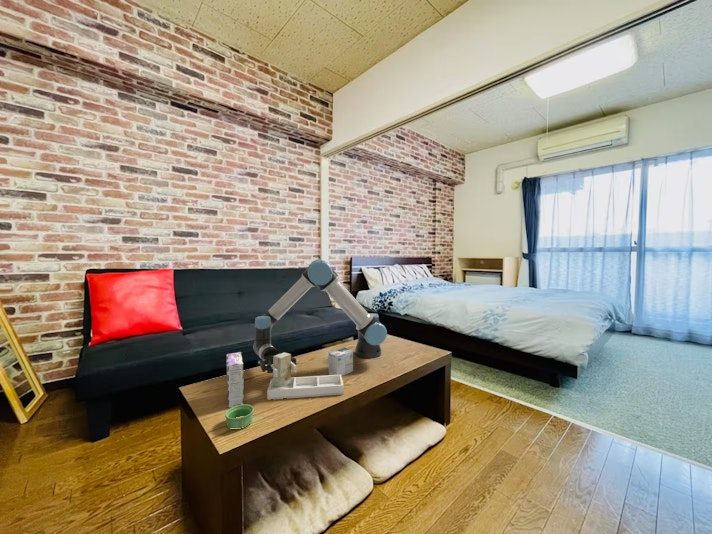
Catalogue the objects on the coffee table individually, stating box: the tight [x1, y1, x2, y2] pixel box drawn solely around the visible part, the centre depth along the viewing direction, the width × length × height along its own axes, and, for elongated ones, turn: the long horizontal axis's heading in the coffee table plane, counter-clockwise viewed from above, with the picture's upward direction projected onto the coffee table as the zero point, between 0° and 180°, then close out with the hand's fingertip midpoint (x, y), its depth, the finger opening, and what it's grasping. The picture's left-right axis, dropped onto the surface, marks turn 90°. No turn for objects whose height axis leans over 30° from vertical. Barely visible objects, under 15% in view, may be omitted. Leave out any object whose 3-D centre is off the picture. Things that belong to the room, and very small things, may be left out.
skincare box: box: [272, 352, 292, 387], centre depth 120 cm, size 6×4×12 cm
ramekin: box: [224, 403, 254, 429], centre depth 99 cm, size 9×9×4 cm
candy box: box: [226, 351, 245, 408], centre depth 115 cm, size 14×6×16 cm, turn 24°
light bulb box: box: [327, 347, 354, 377], centre depth 140 cm, size 11×7×11 cm, turn 134°
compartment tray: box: [266, 374, 345, 401], centre depth 122 cm, size 30×11×4 cm, turn 98°
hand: (286, 371), depth 116 cm, fingers closed on skincare box, 7 cm apart
